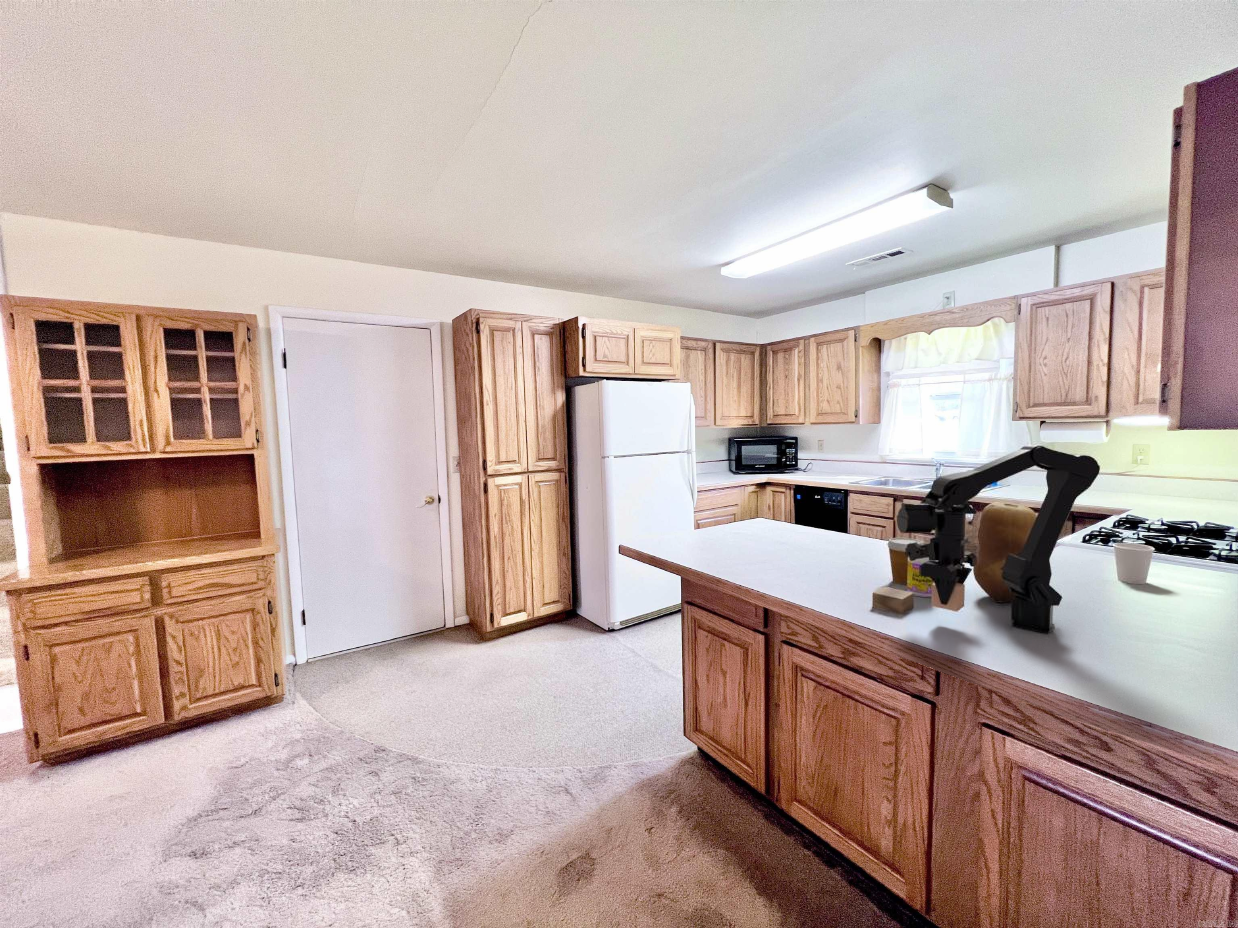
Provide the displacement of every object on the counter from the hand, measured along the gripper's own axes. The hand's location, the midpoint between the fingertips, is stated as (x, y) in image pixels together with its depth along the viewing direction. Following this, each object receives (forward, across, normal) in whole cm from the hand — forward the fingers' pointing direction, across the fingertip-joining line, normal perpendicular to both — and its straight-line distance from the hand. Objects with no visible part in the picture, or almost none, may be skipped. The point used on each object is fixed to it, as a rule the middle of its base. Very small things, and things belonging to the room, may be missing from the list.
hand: (948, 601), depth 116 cm
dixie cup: (+6, -72, +24) cm, 76 cm away
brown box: (+6, -3, -13) cm, 14 cm away
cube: (+1, 0, 0) cm, 1 cm away
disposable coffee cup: (+6, -27, -19) cm, 34 cm away
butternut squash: (+6, -28, +4) cm, 29 cm away
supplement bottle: (+6, -19, -12) cm, 23 cm away
